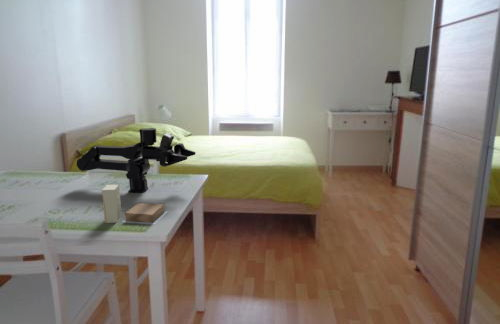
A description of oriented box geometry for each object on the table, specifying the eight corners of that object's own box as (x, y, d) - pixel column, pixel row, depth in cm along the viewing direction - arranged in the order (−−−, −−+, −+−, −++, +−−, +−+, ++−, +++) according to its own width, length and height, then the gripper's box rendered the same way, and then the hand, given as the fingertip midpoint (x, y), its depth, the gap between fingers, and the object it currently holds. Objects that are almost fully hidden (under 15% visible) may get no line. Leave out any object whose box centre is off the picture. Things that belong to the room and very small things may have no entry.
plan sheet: (121, 222, 126) (121, 222, 126) (137, 210, 137) (137, 209, 137) (154, 225, 124) (154, 224, 124) (168, 212, 135) (168, 211, 135)
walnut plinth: (125, 221, 127) (124, 212, 126) (138, 210, 136) (138, 203, 135) (153, 222, 125) (152, 214, 124) (164, 212, 134) (164, 204, 134)
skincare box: (109, 217, 131) (106, 184, 128) (122, 216, 132) (119, 183, 129) (104, 223, 125) (100, 189, 122) (117, 223, 126) (114, 189, 123)
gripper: (144, 138, 144) (181, 140, 141) (165, 130, 162) (198, 132, 159) (146, 165, 147) (182, 168, 144) (166, 155, 165) (199, 157, 162)
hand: (191, 155), depth 152 cm, fingers open, 9 cm apart
